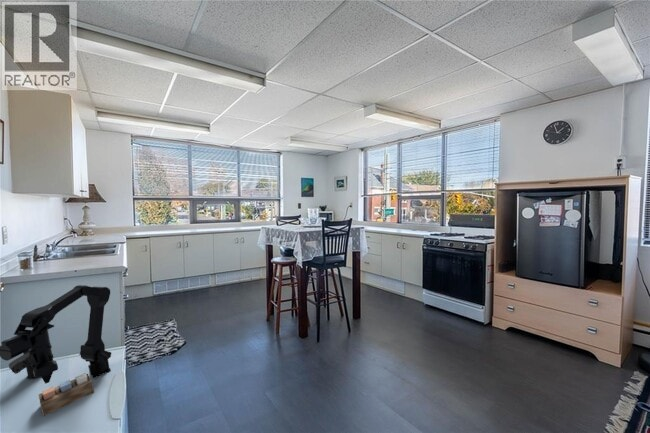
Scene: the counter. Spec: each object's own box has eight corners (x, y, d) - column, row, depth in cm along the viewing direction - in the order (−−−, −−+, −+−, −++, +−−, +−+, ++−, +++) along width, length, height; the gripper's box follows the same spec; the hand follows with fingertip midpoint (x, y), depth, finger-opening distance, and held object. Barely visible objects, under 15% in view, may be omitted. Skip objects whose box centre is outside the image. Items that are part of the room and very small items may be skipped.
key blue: (71, 387, 120) (69, 379, 120) (72, 391, 118) (71, 382, 118) (60, 392, 118) (59, 383, 117) (62, 396, 116) (60, 387, 115)
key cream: (86, 381, 124) (85, 372, 123) (88, 384, 122) (86, 376, 121) (76, 385, 122) (75, 377, 121) (78, 388, 119) (77, 380, 119)
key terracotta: (54, 395, 116) (53, 386, 116) (56, 398, 114) (54, 390, 114) (43, 399, 114) (42, 391, 113) (45, 403, 112) (43, 394, 111)
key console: (89, 384, 127) (87, 373, 126) (93, 392, 122) (92, 381, 121) (40, 405, 115) (38, 394, 114) (43, 416, 110) (41, 404, 109)
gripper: (6, 345, 111) (14, 382, 113) (10, 364, 99) (19, 405, 101) (46, 332, 119) (53, 367, 121) (54, 348, 107) (61, 387, 109)
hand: (46, 381), depth 113 cm, fingers open, 3 cm apart
